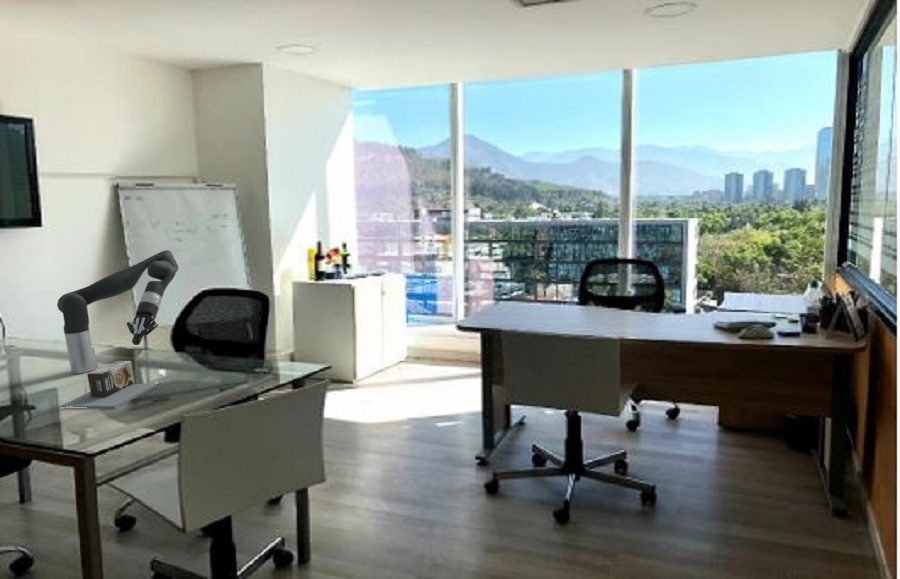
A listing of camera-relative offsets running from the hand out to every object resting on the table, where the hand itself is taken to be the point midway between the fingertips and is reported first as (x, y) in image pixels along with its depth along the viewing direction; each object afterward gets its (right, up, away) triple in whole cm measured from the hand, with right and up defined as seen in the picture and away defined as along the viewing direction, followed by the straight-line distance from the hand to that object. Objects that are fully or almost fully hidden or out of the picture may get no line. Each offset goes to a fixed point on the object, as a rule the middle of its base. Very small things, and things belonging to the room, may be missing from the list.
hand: (135, 344), depth 263 cm
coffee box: (-3, -10, -1) cm, 11 cm away
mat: (-3, -18, -13) cm, 23 cm away
